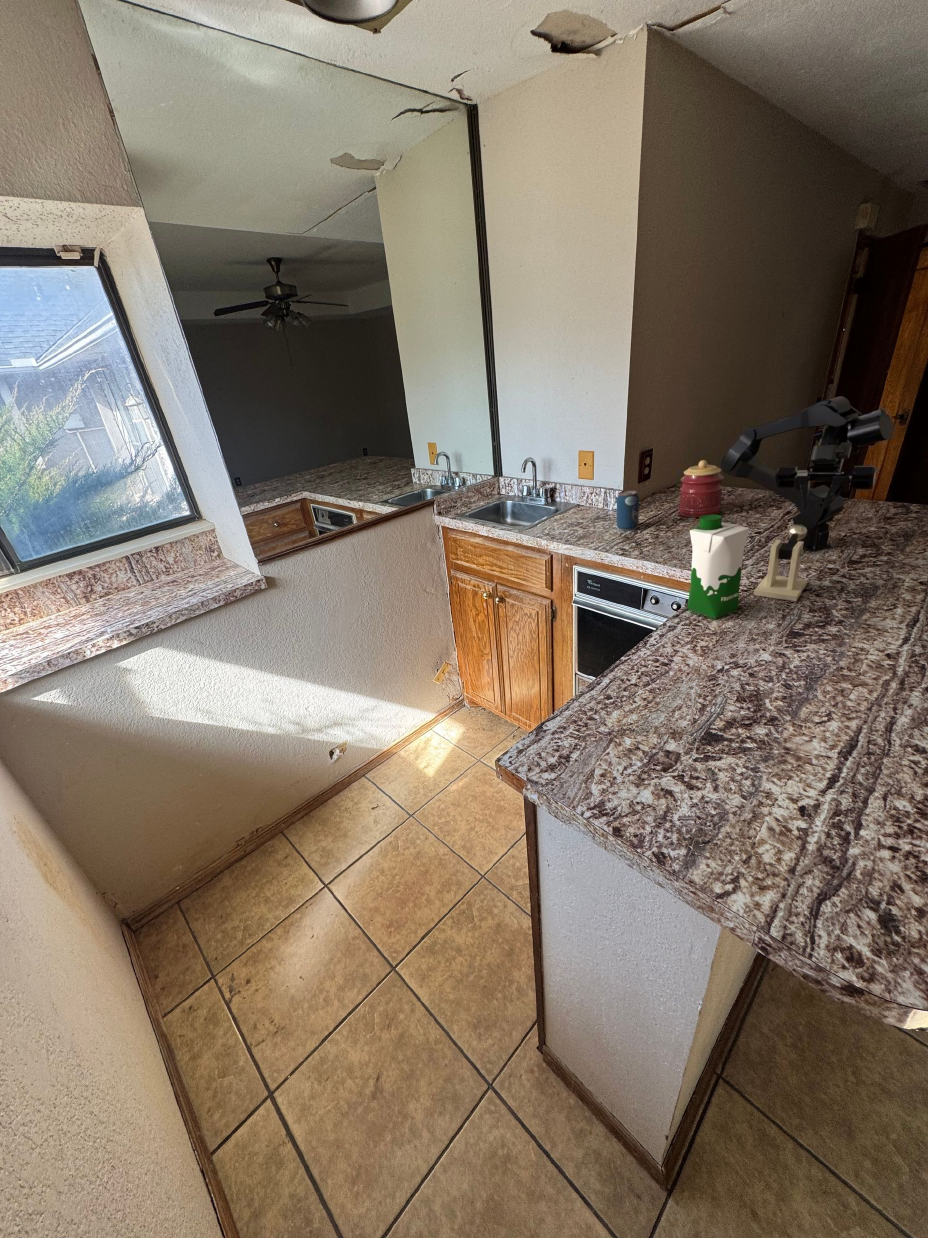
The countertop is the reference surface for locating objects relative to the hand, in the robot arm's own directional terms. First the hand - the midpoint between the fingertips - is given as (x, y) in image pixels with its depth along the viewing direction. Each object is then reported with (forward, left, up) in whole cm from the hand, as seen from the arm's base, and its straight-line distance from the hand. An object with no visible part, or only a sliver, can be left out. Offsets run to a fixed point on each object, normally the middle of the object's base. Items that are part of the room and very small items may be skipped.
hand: (813, 509), depth 111 cm
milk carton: (+7, -34, -14) cm, 37 cm away
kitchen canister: (-52, +16, -14) cm, 56 cm away
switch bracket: (+7, -16, -14) cm, 22 cm away
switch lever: (+5, -11, -6) cm, 14 cm away
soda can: (-55, -11, -14) cm, 57 cm away
